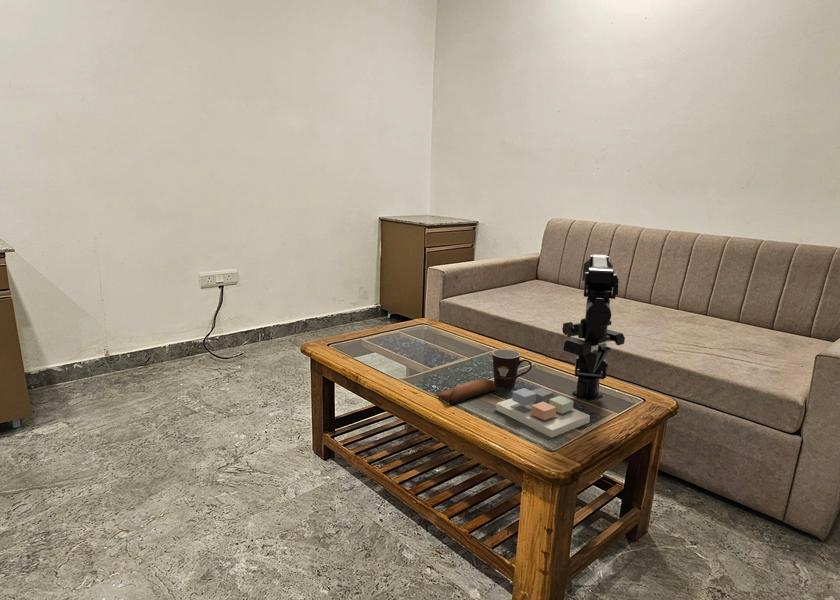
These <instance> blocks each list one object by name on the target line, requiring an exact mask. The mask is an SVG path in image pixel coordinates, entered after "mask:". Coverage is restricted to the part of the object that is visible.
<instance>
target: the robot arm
mask: <svg viewBox="0 0 840 600" xmlns="http://www.w3.org/2000/svg"><path fill="white" fill-rule="evenodd" d="M613 267H614V266H613V264H612V263H611V262H610V261H609V256H608V255H606V254H591V255H590V257H589V259H588V260H587V261H585V262H584V263H583V266H582V277H581V281H582V282H583V297H585V298H586V305H585V306H586V307H585V317H584V318H581V320H580V323H573V322H572V321H570V322H564V323H563V324H562V331H561V332H562V333H563V335H565V336H566V337H567V338H570V339H566V340H565V341H564V342H563V346H562V351H564V352H568V353H569V354H574V355H575V365H574V377H577V382H576V390H574V391H572V395H575V396H577V397H580V398H583V399H584V400H587V401H593V400H595V399H598V398H600V397H603V396H604V395H603V393H601V392H600V391H599V390H600V380H603V381H604V380H605V379H606V378H607V373H608V367H609V364H608V362H607V359H606V358H605V357H606V356H607V355H608V354H609V352H611V350H612V348H611V347H608V344H607V343H610V342H614V344H615V345H616V346H622V345H624V344H625V339H626V337H625V335H624V334H623V333H622V332H619V331H615V330H611V329H608V326H611V325H612V323H613V322H612V320H611V318H612V310H611V306H610V304H611V299H613V300H616V296H618V294H619V277H618V275H617V273H615V270H614V268H613ZM576 336H577V338H576ZM571 337H574V338H571ZM582 339H584V340H582Z"/></svg>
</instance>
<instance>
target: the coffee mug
mask: <svg viewBox="0 0 840 600" xmlns="http://www.w3.org/2000/svg"><path fill="white" fill-rule="evenodd" d="M491 354H492V355H491V356H492V357H491V358H492V369H493V382H494V383H495V386H496V387H498V388H503V389H504V388H505V389H509V388H514V387H515V385H516V380H517V379H518V378H519V377H521V376H523V375H526V374H527V373H529V372H530V371H531V369H532V367H533V366H532V362H531V361H530V360H528V359H521V353H520V351H519V352H518V351H517V350H514V349H513V350H512V349H509V348H507V349H503V348H502V349H500V348H499V349H495V350H493V351H492V353H491ZM520 359H521V360H520ZM523 362H525V363H528V364H529V369H528V368H527V370H526V371H524V372H522V373H520V374H518V372H519V371H518V370H519V369H518V368H519V367H520V365H521V364H522V363H523Z"/></svg>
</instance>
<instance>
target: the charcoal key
mask: <svg viewBox="0 0 840 600" xmlns="http://www.w3.org/2000/svg"><path fill="white" fill-rule="evenodd" d="M531 391H532V392H534V393H536V402H537V403H540V402H546V403H548V402H549V399H552V398H554V392H553V391H550V390H548V389H546V388H544V387H538V388H535V389H532V390H531Z"/></svg>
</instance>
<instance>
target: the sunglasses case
mask: <svg viewBox="0 0 840 600" xmlns="http://www.w3.org/2000/svg"><path fill="white" fill-rule="evenodd" d="M496 388H497V386H496V385H495V383H494V380H492V379H476V380H470V381H467V382H462V383H460V384H459V383H458V384H456V385H455V386H454V387H449V388H447V389H445V390H442V391H441V392H438V393H437V394H435V395H436V396H438V397H439V398H441V399H442V400H444V401H446V402H447V403H449V404H450V405H449V404H448V405H449V406H452V405H455V404H457V403H461V402H463V401H465V400H467V399H470V398H473V397H477V396H480V395H483V394H487V393H489V392H495V391H496V390H497V389H496ZM447 403H446V404H447Z"/></svg>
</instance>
